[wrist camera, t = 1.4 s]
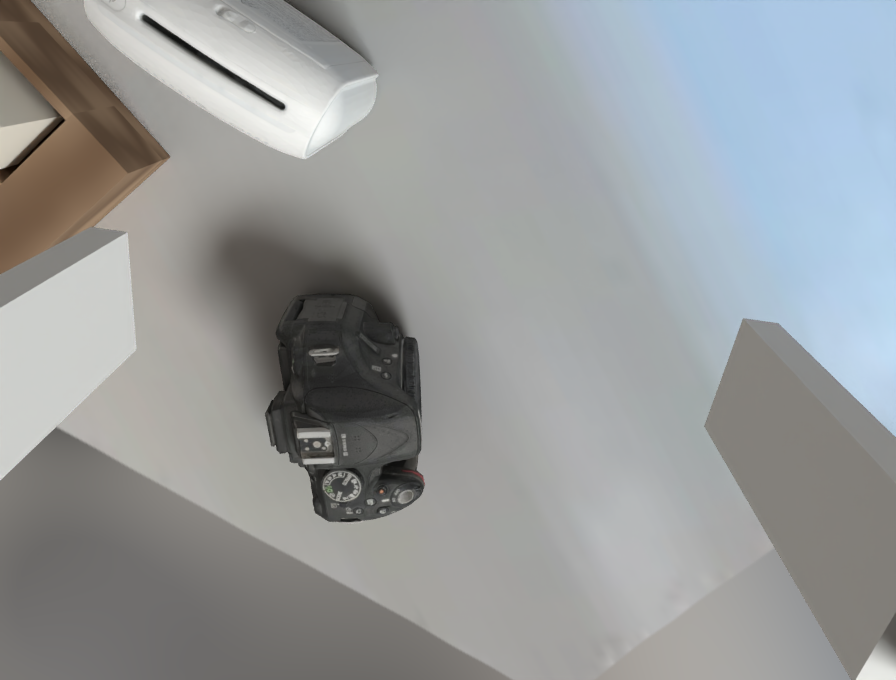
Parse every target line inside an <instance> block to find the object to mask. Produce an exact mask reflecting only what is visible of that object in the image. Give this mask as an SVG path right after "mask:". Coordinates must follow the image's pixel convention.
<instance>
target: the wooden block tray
mask: <svg viewBox="0 0 896 680" xmlns="http://www.w3.org/2000/svg"><path fill="white" fill-rule="evenodd" d="M0 51H1V52H2V53H3V54H4V55H5V56H6V57H7V58H8V59H9V60H10V61H11V62H12V63H13V64H14V66H15V67H16V68H17V69H18V70H19V71H20V72H21V73H22V74H23V75H24V76H25V77H26V78H27V79H28V81H29V82H30V83H31V84H32V85H33V86H34V87H35V88H36V89H37V90H38V91H39V92H40V93H41V94H42V95H43V97H44V98H45V99H46V100H47V101H48V102H49V103H50V104H51V105H52V106H53V107H54V108H55V109H56V110H57V111H58V113H59V114H60V115H61V116H62V117H63V118H64V119H63V120H62V121H61V122H60V123H59V124H58V125H57V126H56V127H55V128H54V129H53V130H52V131H51V132H50V133H49V134H48V135H47V136H46V137H45V138H44V139H43V140H42V141H41V142H40V143H39V144H38V145H37V146H36V147H35V148H34V149H33V150H32V151H31V152H30V153H29V154H28V155H27V156H25V157H24V158H23V159H22V160H21V161H20V162H19V163H18V164H17V165H14V166H10V167H6V168H3V169H0V274H2V273H4V272H6V271H8V270H10V269H11V268H13V267H15V266H17V265H19V264H21V263H23V262H25V261H27V260H29V259H30V258H32V257H34V256H36V255H38V254H40V253H42V252H44V251H46V250H48V249H50V248H51V247H53V246H55V245H57V244H59V243H61V242H63V241H65V240H67V239H69V238H70V237H72V236H74V235H76V234H78V233H80V232H82V231H84V230H86V229H88V228H90V227H94V226H95V225H96V224H97V223H98V222H99V221H100V220H101V219H102V218H104V217H105V216H106V215H107V214H108V213H109V212H110V211H111V210H112V209H114V208H115V207H116V206H117V205H118V204H119V203H120V202H121V201H122V200H123V199H125V198H126V197H127V196H128V195H129V194H130V193H131V192H132V191H133V190H135V189H136V188H137V187H138V186H139V185H140V184H141V183H142V182H143V181H145V180H146V179H147V178H148V177H149V176H150V175H151V174H152V173H153V172H154V171H156V170H157V169H158V168H159V167H160V166H161V165H162V164H163V163H164V162H166V161H167V160H168V159H169V158H170V156H169V155H168V154H167V153H166V151H165V150H164V149H163V148H162V147H161V146H160V145H159V144H158V142H157V141H156V140H155V139H154V138H153V137H152V136H151V135H150V134H149V132H148V131H147V130H146V129H145V128H144V127H143V126H142V125H141V123H140V122H139V121H138V120H137V119H136V118H135V117H134V116H133V115H132V113H131V112H130V111H129V110H128V109H127V108H126V107H125V106H124V105H123V103H122V102H121V101H120V100H119V99H118V98H117V97H116V96H115V94H114V93H113V92H112V91H111V90H110V89H109V88H108V87H107V86H106V84H105V83H104V82H103V81H102V80H101V79H100V78H99V77H98V75H97V74H96V73H95V72H94V71H93V70H92V69H91V68H90V67H89V65H88V64H87V63H86V62H85V61H84V60H83V59H82V58H81V57H80V55H79V54H78V53H77V52H76V51H75V50H74V49H73V48H72V46H71V45H70V44H69V43H68V42H67V41H66V40H65V39H64V38H63V36H62V35H61V34H60V33H59V32H58V31H57V30H56V29H55V28H54V26H53V25H52V24H51V23H50V22H49V21H48V20H47V19H46V17H45V16H44V15H43V14H42V13H41V12H40V11H39V10H38V9H37V7H36V6H35V5H34V4H33V3H32V2H31V1H30V0H0Z"/></svg>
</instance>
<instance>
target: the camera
mask: <svg viewBox="0 0 896 680" xmlns="http://www.w3.org/2000/svg"><path fill="white" fill-rule="evenodd" d="M276 336H277V338H278V339H279V340H280V344H279V346H278V355H279V361H280V367H281V372H282V378H283V385H284V391H279V392H278V394H277V396H276V397H275V398H274V400H272V401H271V403H270V405H269V407H268V409H267V411H266V413H265V416H266V421H267V426H268V431H269V436H270V442H271V446H275V445H276V449H277V451H278V452H279V453H280V454H281V453H286V452H288V453H289V458H290V462H291V463H298V465H299V466H300V467H305V469H306V470H307V471H308V474H309V476H310V481H311V489H312V494H313V506H314V511H315V513H316V514H318V515H319V516H321V517H322V518H324V519H325V520H327V521H329V522H341V523H345V524H352V523H361V522H363V521H364V520H371V519H376V518H380V517H384V516H387V515H390V514H392V513H394V512H397V511H399V510H401V509H403V508H405V507H407V506H409V505H410V504H412V503H413V502H414V501H415V500H417V499H418V498H419V497H420V496H421V494H422V492H423V489H424V486H425V483H424V479H423V475H421V474H420V473H419V472H418V471H416V470H417V464H418V454H419V453H420V451H421V443H422V426H421V387H420V367H419V352H418V344H417V341H416V339H415V338H410V337H406V338H404V339H403V336H402V334H400V333H399V330H398V327H396V326H394V325H393V324H392V323H380V322H379V321H378V318H377V315H376V312H375V311H374V309H373V307H372V306H371V304H370V303H368V302H366V301H365V300H363V299H361V298H359V297H357V296H353V295H340V294H318V295H302V296H297V297H295V298H294V299H293V300H292V301H291V303H290V305H289V306H288V308H287V310H286V311H285V313H284V315H283V317H282V319H281V321H280V323H279V325H278V328H277V330H276Z"/></svg>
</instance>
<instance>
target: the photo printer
mask: <svg viewBox="0 0 896 680" xmlns="http://www.w3.org/2000/svg"><path fill="white" fill-rule="evenodd" d="M84 9H85V12H86V15H87V18H88V19H89V21H90V22H91V23H92V24H93V25H94V27H95V28H96V29H97V30H98V31H99V32H100V33H101V34H102V35H103V36H104V37H105V38H106V39H107V40H108V41H109V42H110V43H111V44H112V45H113V46H114V47H115V48H117V49H118V50H119V51H120V52H121V53H123V54H124V55H125V56H126V57H128V58H129V59H130V60H131V61H133V62H134V63H136V64H137V65H138V66H140V67H141V68H142V69H144V70H145V71H147V72H148V73H149V74H150V75H152V76H153V77H155V78H156V79H158V80H159V81H161V82H162V83H164V84H165V85H166V86H168V87H169V88H171V89H172V90H174V91H176V92H177V93H179V94H180V95H182V96H183V97H185V98H186V99H188V100H189V101H191V102H193V103H194V104H196V105H197V106H199V107H200V108H202V109H204V110H205V111H207V112H209V113H210V114H212V115H213V116H215V117H217V118H218V119H220V120H222V121H224V122H225V123H227V124H229V125H230V126H232V127H234V128H236V129H237V130H239V131H241V132H243V133H244V134H247V135H248V136H250V137H252V138H254V139H256V140H257V141H259V142H261V143H263V144H265V145H267V146H269V147H271V148H273V149H276V150H278V151H280V152H283V153H286V154H288V155H292V156H295V157H298V158H301V159H307V158H308V157H310V156H311V155H313V154H315V153H316V152H318V151H319V150H321V149H322V148H324V147H325V146H327V145H329V144H330V143H331V142H333V141H334V140H336V139H338V138H339V137H340V136H342V135H343V134H345V133H346V132H347V131H348V128H350V127H351V126H353V125H354V124H356V123H358V122H359V121H360V120H362V119H363V118H365V117H366V116H367V115H368V113H369V112H370V111H371V109H372V107H373V105H374V103H375V100H376V94H377V84H376V78H377V77H378V76H379V74H378V73H377V71H376V70H375V69H374V68H373V67H372V66H371V65H370V64H369V63H368V62H367V61H366V60H365V59H364V58H363V57H362V56H361V55H359V54H358V53H357V52H355V51H354V50H353V49H351V48H350V47H349V46H347V45H346V44H345V43H343V42H342V41H341V40H340V39H338V38H337V37H335V36H334V35H332V34H331V33H330V32H328V31H327V30H326V29H324V28H323V27H321V26H320V25H318V24H317V23H316V22H314V21H313V20H311V19H310V18H308V17H307V16H306V15H304V14H303V13H301V12H300V11H298V10H297V9H295V8H294V7H292V6H291V5H290V4H288V3H287V2H285V1H284V0H84Z"/></svg>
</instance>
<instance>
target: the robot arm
mask: <svg viewBox="0 0 896 680" xmlns="http://www.w3.org/2000/svg"><path fill="white" fill-rule="evenodd" d="M135 350H136V337H135V324H134V311H133V298H132V285H131V271H130V258H129V245H128V232H123V231H116V230H109V229H102V228H94V227H90V228H88V229H86V230H84V231H82V232H80V233H78V234H76V235H74V236H72V237H70V238H69V239H67V240H65V241H63V242H61V243H59V244H57V245H55V246H53V247H51V248H50V249H48V250H46V251H44V252H42V253H40V254H38V255H36V256H34V257H32V258H30V259H29V260H27V261H25V262H23V263H21V264H19V265H17V266H15V267H13V268H11V269H10V270H8V271H6V272H4V273H2V274H0V480H1V479H2V478H3V477H4V476H5V475H6V474H7V473H8V472H9V471H10V470H11V469H13V468H14V467H15V466H16V465H17V464H18V463H19V462H20V461H21V460H22V459H23V458H24V457H25V456H26V455H27V454H28V453H29V452H30V451H31V450H32V449H33V448H34V447H35V446H36V445H38V443H40V442H41V441H42V440H43V439H44V438H45V437H46V436H47V435H48V434H49V433H50V432H51V431H52V430H53V429H54V428H55V427H56V426H57V425H58V424H59V423H60V422H61V421H63V420H64V419H65V418H66V417H67V416H68V415H69V414H70V413H71V412H72V411H73V410H74V409H75V408H76V407H77V406H78V405H79V404H80V403H81V402H82V401H83V400H84V399H85V398H86V397H87V396H89V395H90V394H91V393H92V392H93V391H94V390H95V389H96V388H97V387H98V386H99V385H100V384H101V383H102V382H103V381H104V380H105V379H106V378H107V377H108V376H109V375H110V374H111V373H112V372H114V371H115V370H116V369H117V368H118V367H119V366H120V365H121V364H122V363H123V362H124V361H125V360H126V359H127V358H128V357H129V356H130V355H131V354H132V353H133V352H134V351H135ZM704 427H705V428H706V430H707V432H708V433H709V435H710V437H711V439H712V440H713V442H714V444H715V446H716V447H717V449H718V451H719V452H720V454H721V456H722V458H723V459H724V461H725V463H726V464H727V466H728V468H729V470H730V471H731V473H732V475H733V477H734V478H735V480H736V482H737V483H738V485H739V487H740V489H741V490H742V492H743V494H744V496H745V497H746V499H747V501H748V502H749V504H750V506H751V508H752V509H753V511H754V513H755V515H756V516H757V518H758V520H759V521H760V523H761V525H762V527H763V528H764V530H765V532H766V534H767V535H768V537H769V539H770V540H771V542H772V544H773V546H774V547H775V549H776V551H777V552H778V554H779V556H780V558H781V559H782V561H783V563H784V565H785V566H786V568H787V570H788V571H789V573H790V575H791V577H792V578H793V580H794V582H795V584H796V585H797V587H798V589H799V590H800V592H801V594H802V596H803V597H804V599H805V601H806V603H807V604H808V606H809V607H810V609H811V611H812V613H813V614H814V616H815V618H816V620H817V621H818V623H819V625H820V627H821V628H822V630H823V632H824V633H825V635H826V637H827V639H828V641H829V642H830V644H831V646H832V647H833V649H834V651H835V653H836V654H837V656H838V658H839V659H840V661H841V663H842V665H843V666H844V668H845V670H846V671H847V673H848V675H849V677H850V678H851V680H896V437H895V436H894V435H893V434H892V433H891V432H889V431H888V430H887V429H886V428H885V427H884V426H883V425H882V424H881V423H880V422H879V421H878V420H877V419H876V418H875V417H874V416H873V415H872V414H871V413H870V412H869V411H868V410H867V409H866V408H865V407H864V406H863V405H862V404H861V403H860V402H859V401H858V400H857V399H856V398H854V397H853V396H852V395H851V394H850V393H849V392H848V391H847V390H846V389H845V388H844V387H843V386H842V385H841V384H840V383H839V382H838V381H837V380H836V379H835V378H834V377H833V376H832V375H831V374H830V373H829V372H828V371H827V370H826V369H825V368H824V367H823V366H822V365H821V364H820V363H818V362H817V361H816V360H815V359H814V358H813V357H812V356H811V355H810V354H809V353H808V352H807V351H806V350H805V349H804V348H803V347H802V346H801V345H800V344H799V343H798V342H797V341H796V340H795V339H794V338H793V337H792V336H791V335H790V334H789V333H788V332H787V331H786V330H785V329H783V328H782V327H781V326H780V325H779V324H778V323H772V322H765V321H758V320H751V319H744V318H743V320H742V323H741V326H740V329H739V331H738V334H737V337H736V340H735V343H734V345H733V348H732V351H731V354H730V356H729V359H728V362H727V365H726V367H725V370H724V373H723V376H722V379H721V381H720V384H719V387H718V390H717V392H716V395H715V398H714V401H713V404H712V406H711V409H710V412H709V415H708V417H707V420H706V423H705V426H704Z"/></svg>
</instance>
